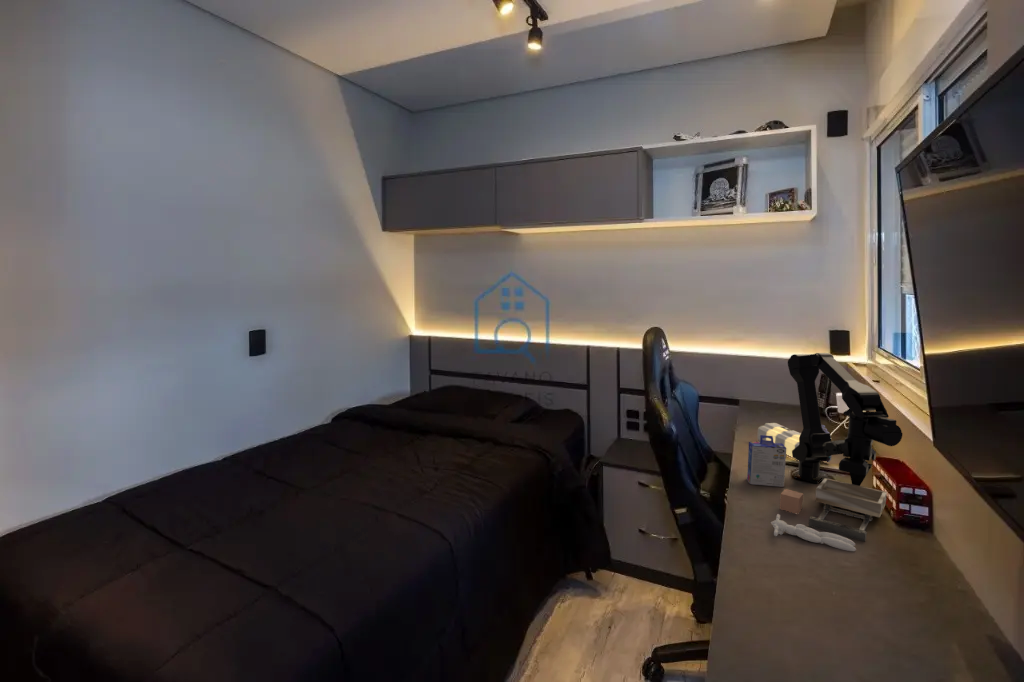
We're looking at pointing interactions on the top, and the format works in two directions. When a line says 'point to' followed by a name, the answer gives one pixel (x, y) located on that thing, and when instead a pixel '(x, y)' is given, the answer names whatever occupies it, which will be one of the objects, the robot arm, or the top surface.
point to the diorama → (782, 436)
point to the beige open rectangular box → (851, 497)
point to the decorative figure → (813, 535)
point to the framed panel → (839, 528)
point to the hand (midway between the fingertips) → (855, 489)
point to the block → (791, 501)
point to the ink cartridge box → (766, 462)
